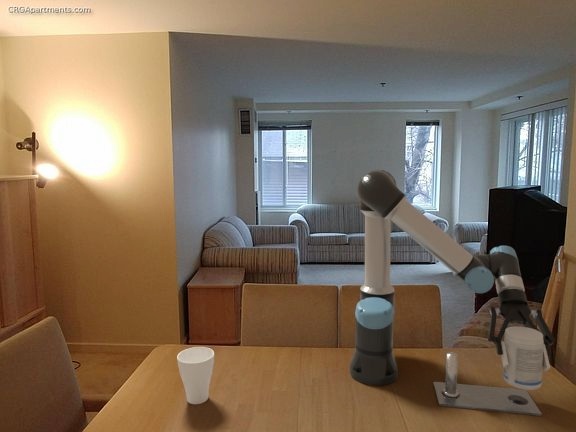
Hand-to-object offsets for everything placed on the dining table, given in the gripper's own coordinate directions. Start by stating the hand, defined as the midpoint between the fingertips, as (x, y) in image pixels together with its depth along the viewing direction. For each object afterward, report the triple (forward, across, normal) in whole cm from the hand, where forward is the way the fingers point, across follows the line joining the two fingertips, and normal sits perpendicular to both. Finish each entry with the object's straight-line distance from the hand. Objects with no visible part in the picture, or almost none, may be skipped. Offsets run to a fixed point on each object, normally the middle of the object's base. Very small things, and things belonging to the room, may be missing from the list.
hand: (526, 367), depth 115 cm
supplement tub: (+2, 0, -7) cm, 7 cm away
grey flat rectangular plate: (+6, +10, -10) cm, 16 cm away
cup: (+16, +91, 0) cm, 92 cm away
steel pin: (+6, +19, -10) cm, 22 cm away
